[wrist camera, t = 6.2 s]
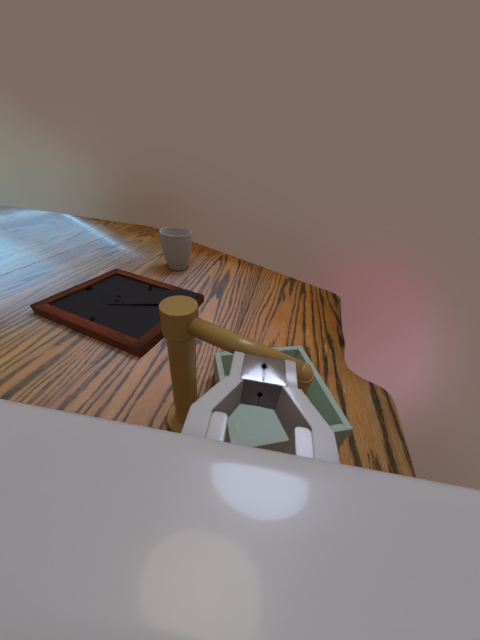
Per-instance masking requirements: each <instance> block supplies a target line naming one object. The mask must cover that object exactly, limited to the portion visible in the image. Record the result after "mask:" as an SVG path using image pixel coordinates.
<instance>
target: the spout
mask: <svg viewBox="0 0 480 640" xmlns="http://www.w3.org/2000/svg"><path fill="white" fill-rule="evenodd" d="M159 314H160V321H161V329H162V334H163V336H164V337H165V338H166V339H167V340H170V341H173V342H185V341H188V340H191V339H192V338H194V337H196V338H198V339H201V340H203V341H205V342H207V343H210V344H212V345H214V346H216V347H219V348H221V349H223V350H225V351H227V352H230V353H232V354H234V352H235V351H237V352H242V353H248V354H254V355H259V356H265V357H271V358H277V359H283V360H290V361H295V362H296V371H297V382H298V389H301V390H302V391H303V392H304V394H305V395H307V392H308V390H309V388H310V385H311V383H312V381H313V378H314V374H313V370H312V367H311V366H310V365H309V364H308V363H307V362H305V361H302V360H300V359H297V358H295V357H292V356H290V355H288V354H285V353H283V352H280V351H278V350H275V349H273V348H271V347H268V346H266V345H263V344H261V343H258V342H256V341H253V340H251V339H249V338H246V337H244V336H241V335H239V334H236V333H234V332H232V331H229V330H227V329H224V328H222V327H219V326H217V325H215V324H212V323H210V322H207V321H205V320H202V319H200V318H198V303H197V301H196V300H195V299H193V298H191V297H188V296H183V295H177V296H171V297H167V298H165V299H163V300H162V301H161V302H160V304H159ZM244 356H245V355H244Z"/></svg>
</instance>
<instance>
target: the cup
mask: <svg viewBox="0 0 480 640" xmlns="http://www.w3.org/2000/svg"><path fill="white" fill-rule="evenodd" d="M160 237H161V243H162V248H163V252H164V255H165V259H166V261H167V264H168V266H169V268H170V269H171V270H175V271H181V270H185V269H186V268H187V266H188V263H189V259H190V252H191V231H190V230H189V229H186V228H180V227H167V228H163V229H161V230H160Z"/></svg>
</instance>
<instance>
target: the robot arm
mask: <svg viewBox="0 0 480 640" xmlns="http://www.w3.org/2000/svg"><path fill="white" fill-rule="evenodd" d="M244 355H245V356H244ZM240 404H246V405H252V406H258V407H263V408H268V409H273V410H274V411H275V413H276V415H277V417H278V419H279V421H280V423H281V425H282V427H283V429H284V431H285V432H286V434H287V436H288V438H289V442H288V444H287V446H286V448H285V450H284V452H283V453H282V452H277V451H271V450H266V449H261V448H255V447H250V446H245V445H240V444H234V443H229V442H225V435H226V427H227V419H228V418H229V416H230V415H231V414H232V413H233V412H234V411H235V409H236V408H237V407H238V406H239V405H240ZM0 640H480V490H477V489H471V488H466V487H461V486H455V485H449V484H445V483H439V482H434V481H429V480H424V479H418V478H413V477H408V476H403V475H398V474H392V473H387V472H382V471H377V470H371V469H366V468H361V467H356V466H350V465H345V464H341V463H340V458H339V453H338V448H337V443H336V438H335V433H334V431H333V430H332V429H331V427H330V426H329V425H328V423H327V422H326V421H325V420H324V418H323V417H322V416H321V414H320V413H319V412H318V411H317V409H316V408H315V407H314V405H313V404H312V403H311V401H310V400H309V399H308V398H307V396H306V395H305V394H304V392H303V391H302V390H301V389H298V382H297V371H296V362H295V361H290V360H283V359H277V358H271V357H265V356H259V355H254V354H248V353H242V352H237V351H235V352H234V355H233V360H232V364H231V369H230V373H229V377H228V376H225V377H224V378H223V379H222V380H221V381H219V382H218V383H217V384H216V385H215V386H213V387H212V388H211V389H210V390H209V391H207V392H206V393H205V394H204V395H203V396H201V397H200V398H199V399H198V400H197V401H196V402H194V403H193V404H192V405H191V406H190V409H189V412H188V414H187V417H186V420H185V423H184V426H183V428H182V431H181V433H176V432H171V431H166V430H161V429H155V428H150V427H145V426H140V425H134V424H129V423H124V422H119V421H113V420H108V419H103V418H98V417H93V416H87V415H82V414H77V413H72V412H66V411H61V410H56V409H51V408H45V407H40V406H35V405H30V404H24V403H19V402H14V401H9V400H3V399H0Z"/></svg>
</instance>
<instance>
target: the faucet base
mask: <svg viewBox="0 0 480 640" xmlns="http://www.w3.org/2000/svg"><path fill="white" fill-rule="evenodd" d="M167 347H168V355H169V363H170V371H171V379H172V388H173V396H174V405H173V406H172V407H171V408H170V409H169V411H168V414H167V423H168V427H169V429H170V430H171V432H176V433H181V431H182V428H183V426H184V423H185V420H186V417H187V414H188V412H189V409H190V406H191V405H192V404H193V403H194V402H196V401H197V380H196V342H195V337H194V338H192V339H191V340H188V341H185V342H173V341H170V340H167Z"/></svg>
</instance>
